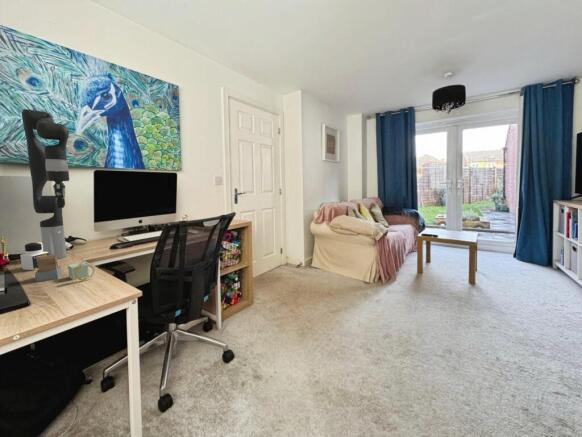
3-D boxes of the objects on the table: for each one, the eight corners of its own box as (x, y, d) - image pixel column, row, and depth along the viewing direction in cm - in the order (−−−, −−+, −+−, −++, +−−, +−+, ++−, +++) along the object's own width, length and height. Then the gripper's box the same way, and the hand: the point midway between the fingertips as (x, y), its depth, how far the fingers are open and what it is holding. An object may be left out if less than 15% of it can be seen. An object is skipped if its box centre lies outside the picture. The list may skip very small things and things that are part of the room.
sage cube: (69, 277, 117) (67, 265, 116) (84, 274, 121) (83, 262, 120) (73, 280, 113) (71, 267, 113) (88, 276, 118) (87, 264, 117)
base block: (41, 277, 117) (39, 268, 117) (61, 274, 121) (60, 265, 120) (36, 282, 111) (34, 273, 111) (58, 279, 115) (56, 270, 114)
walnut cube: (41, 268, 116) (39, 256, 115) (57, 266, 119) (56, 254, 118) (38, 272, 112) (37, 259, 111) (56, 269, 115) (55, 257, 114)
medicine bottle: (33, 270, 124) (30, 245, 123) (21, 269, 126) (18, 244, 124) (50, 266, 131) (47, 241, 130) (38, 265, 133) (35, 241, 131)
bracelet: (75, 283, 110) (73, 264, 109) (74, 281, 112) (72, 262, 111) (96, 279, 114) (94, 261, 113) (94, 277, 117) (93, 259, 116)
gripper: (47, 170, 122) (51, 205, 125) (44, 169, 111) (48, 209, 114) (69, 170, 127) (72, 204, 129) (67, 170, 116) (71, 208, 118)
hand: (61, 206), depth 122 cm, fingers open, 8 cm apart
